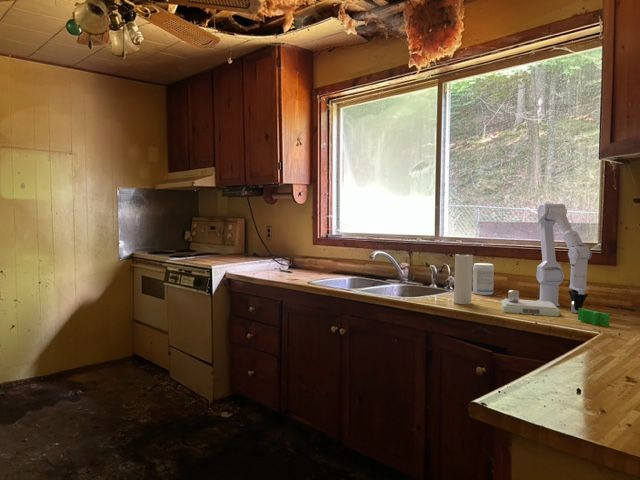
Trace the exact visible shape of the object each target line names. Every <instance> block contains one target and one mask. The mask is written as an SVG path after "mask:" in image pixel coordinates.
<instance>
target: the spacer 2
mask: <svg viewBox="0 0 640 480" xmlns="http://www.w3.org/2000/svg"><path fill="white" fill-rule="evenodd" d="M582 309H584V308H583V307H582ZM570 313H571V314H573V315H574V314H575V315H578V311H576V310H575V308H574V301H572V302H571V307H570Z"/></svg>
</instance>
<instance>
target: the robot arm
mask: <svg viewBox="0 0 640 480" xmlns="http://www.w3.org/2000/svg"><path fill="white" fill-rule="evenodd" d="M536 211H537V222H538V224H539V226H538V227H539V234H540V235H539V237H540V248H541V258H542V260H541V261H542V262H541V263H540V264H538V265H537V266H536V273H535V274H536V275H535V276H536V280H537V281H538V284H540V285H539V299H537V300H536V301H547V302H552V303H553V304H554V305H555V306H556V307H561V305H560V303H559V285H561V283H562V282H563V281H564V277H565V275H564V272H563V271H564V270H563V268H562V267H563V266H562V265H561V264H560V263H559V262H558V261H557V258H556V247H555V246H556V245H555V234H554V225H556V224H557V226H558V227H559V228H560V230H561V231H562V233H563V235H562V239H563V241H564V244H565V245H566V246H567V248H568V250H569V251H567V255H568V258H569V264H570V278H569V279H570V280H569V287H568V288H569V290H567V292H568V294H569V296H570V301H571V303H572V301H574V308H575V310H576V311H578V309H579V308H582V307H583V306H584V303H585V301H586V299H587V298H588V293H586V290H590V289H591V287H589V286H587V280H588V277H587V276H588V260H590V259H591V258H592V254H593V253H592V249H591V247H590V246H589V245H587V244H586V243H584V242H583V240H582V238H581V237H580V235H579V233H578V231H576V230H573V227H572V226H571V224H570V222H569V219H568V217H567V212H568V209H567V207H566V205H565V204H564V203H546V202H542V203H541V204H539V207H538V208H537V210H536ZM571 289H572V290H571Z"/></svg>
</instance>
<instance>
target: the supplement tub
mask: <svg viewBox="0 0 640 480" xmlns="http://www.w3.org/2000/svg"><path fill="white" fill-rule="evenodd" d="M494 275H495V267H494V264H493V263H486V262H477V263H474V262H473V267H472V293H473V294H475V295H480V296H492V295H494V283H495V281H494V280H495V279H494V278H495V277H494Z"/></svg>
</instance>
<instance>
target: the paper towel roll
mask: <svg viewBox="0 0 640 480" xmlns="http://www.w3.org/2000/svg"><path fill="white" fill-rule="evenodd" d="M454 259H455V260H454V285H453V288H454V289H453V303H454V304H457V305H469V304H470V303H472V293H473V266H474V262H473V261H474V254H465V253H459V254H458V253H457V254H456V253H455V257H454Z"/></svg>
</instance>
